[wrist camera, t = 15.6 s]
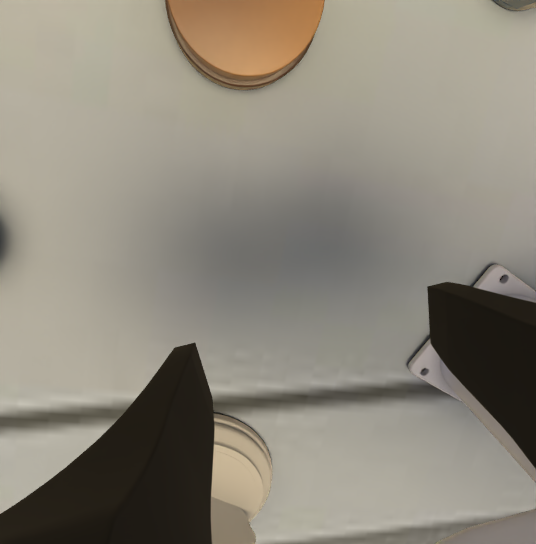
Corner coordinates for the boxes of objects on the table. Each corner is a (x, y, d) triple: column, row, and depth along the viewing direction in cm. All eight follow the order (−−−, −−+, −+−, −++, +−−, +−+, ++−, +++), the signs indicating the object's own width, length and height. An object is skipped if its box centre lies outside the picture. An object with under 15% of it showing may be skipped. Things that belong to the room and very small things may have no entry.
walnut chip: (338, -8, 17) (350, -20, 16) (261, 118, 18) (266, 117, 17) (217, -116, 15) (217, -141, 14) (142, 32, 17) (135, 23, 15)
